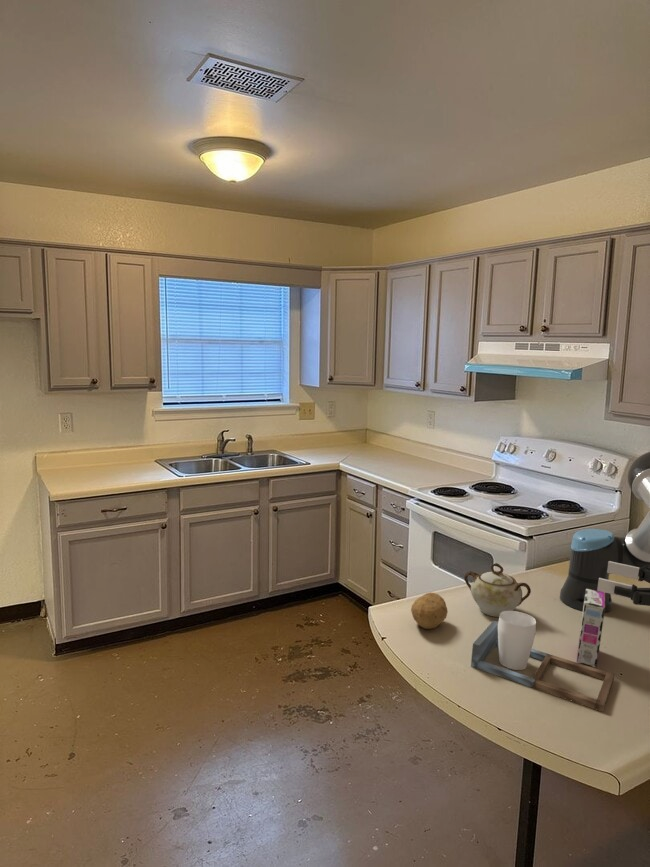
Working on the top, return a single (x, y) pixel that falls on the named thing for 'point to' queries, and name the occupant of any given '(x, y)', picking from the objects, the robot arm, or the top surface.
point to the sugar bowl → (496, 591)
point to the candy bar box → (591, 628)
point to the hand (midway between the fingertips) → (603, 575)
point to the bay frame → (540, 670)
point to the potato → (429, 610)
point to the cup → (515, 638)
